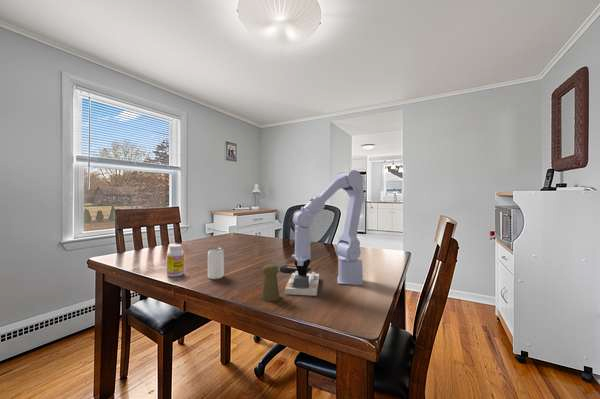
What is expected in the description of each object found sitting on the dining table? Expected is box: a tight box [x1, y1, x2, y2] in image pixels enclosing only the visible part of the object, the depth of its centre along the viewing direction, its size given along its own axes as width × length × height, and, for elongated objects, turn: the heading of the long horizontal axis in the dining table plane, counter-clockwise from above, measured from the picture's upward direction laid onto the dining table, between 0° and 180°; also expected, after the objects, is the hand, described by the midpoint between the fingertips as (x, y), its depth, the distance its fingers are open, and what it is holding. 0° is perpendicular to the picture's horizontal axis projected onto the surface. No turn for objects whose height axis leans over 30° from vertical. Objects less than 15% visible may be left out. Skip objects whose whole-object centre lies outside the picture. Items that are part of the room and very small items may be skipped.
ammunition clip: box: [279, 263, 311, 274], centre depth 117 cm, size 11×2×12 cm
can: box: [207, 247, 225, 280], centre depth 106 cm, size 6×6×12 cm
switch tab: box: [294, 275, 309, 288], centre depth 89 cm, size 5×4×3 cm
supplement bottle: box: [166, 243, 185, 278], centre depth 109 cm, size 7×7×13 cm
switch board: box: [284, 271, 320, 296], centre depth 95 cm, size 11×18×4 cm, turn 173°
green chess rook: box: [261, 263, 280, 302], centre depth 84 cm, size 6×6×11 cm
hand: (302, 280), depth 93 cm, fingers closed
